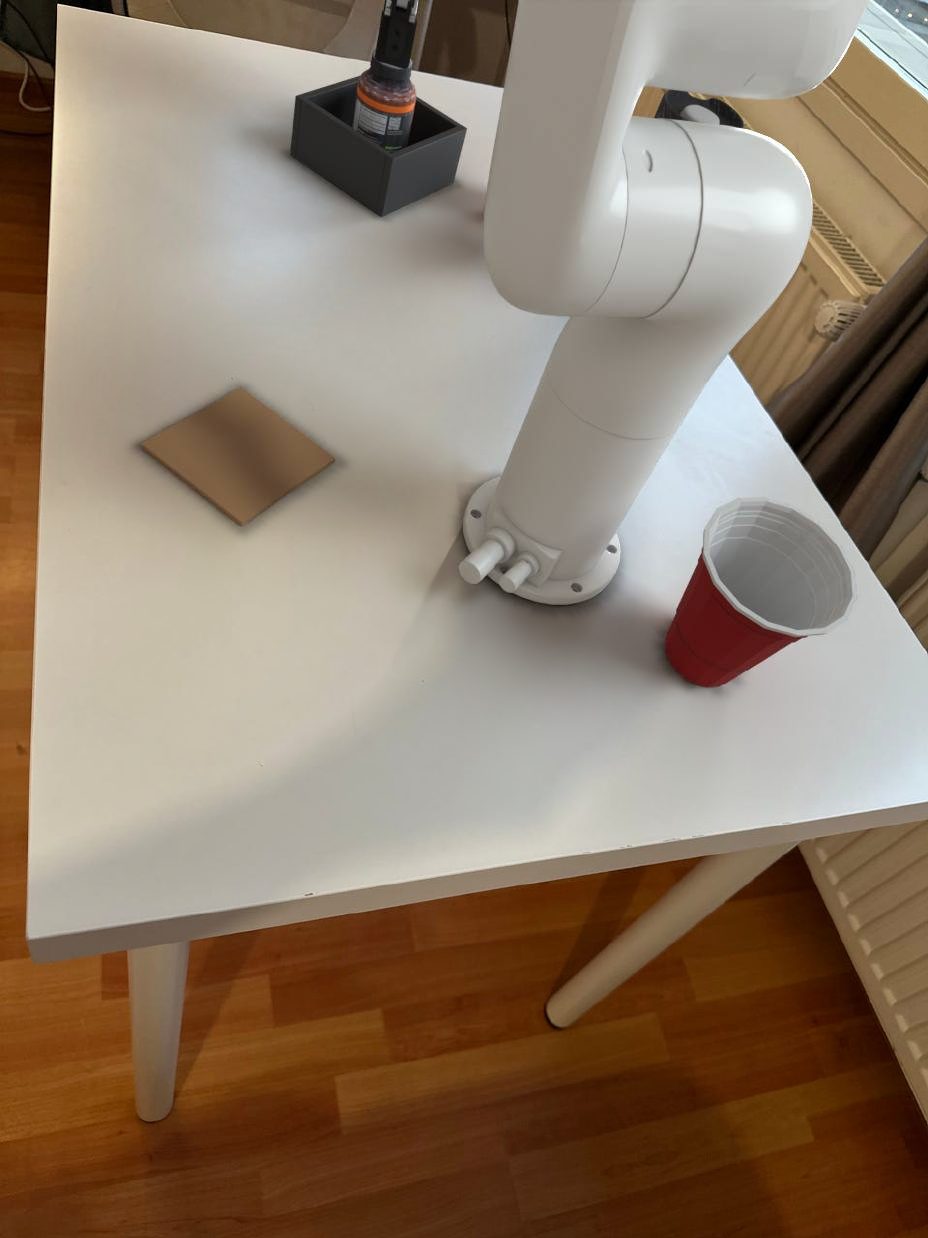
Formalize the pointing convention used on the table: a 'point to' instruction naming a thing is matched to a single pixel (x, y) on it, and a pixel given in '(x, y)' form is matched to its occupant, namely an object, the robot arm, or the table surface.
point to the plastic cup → (757, 590)
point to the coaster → (239, 455)
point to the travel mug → (697, 109)
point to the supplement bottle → (385, 105)
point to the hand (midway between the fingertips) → (395, 40)
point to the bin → (374, 149)
